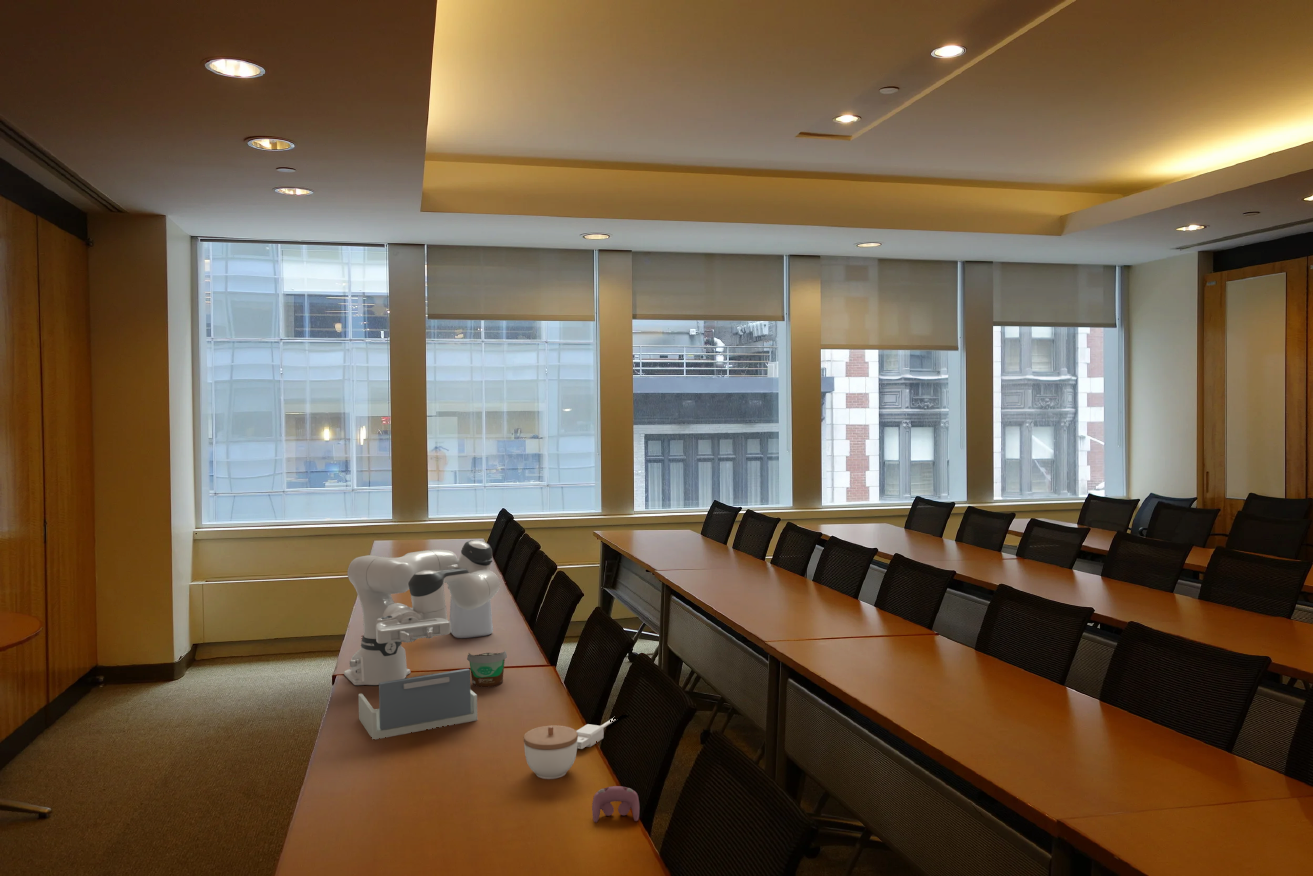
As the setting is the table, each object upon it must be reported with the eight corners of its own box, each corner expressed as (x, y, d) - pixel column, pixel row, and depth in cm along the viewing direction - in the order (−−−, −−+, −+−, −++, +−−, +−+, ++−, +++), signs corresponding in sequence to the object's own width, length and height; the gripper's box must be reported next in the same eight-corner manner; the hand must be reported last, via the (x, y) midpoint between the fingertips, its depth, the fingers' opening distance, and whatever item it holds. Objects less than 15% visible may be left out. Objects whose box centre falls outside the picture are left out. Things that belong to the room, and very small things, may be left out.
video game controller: (639, 821, 186) (638, 786, 189) (639, 821, 182) (639, 784, 185) (592, 823, 186) (592, 787, 189) (591, 822, 182) (591, 786, 184)
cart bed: (358, 719, 245) (358, 694, 245) (457, 701, 259) (457, 678, 259) (372, 739, 230) (372, 713, 229) (477, 720, 243) (477, 695, 243)
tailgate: (379, 728, 231) (378, 682, 231) (469, 711, 243) (468, 668, 243) (381, 730, 229) (380, 685, 229) (471, 714, 241) (470, 670, 241)
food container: (468, 690, 269) (468, 658, 269) (467, 684, 275) (466, 652, 275) (509, 686, 273) (508, 654, 272) (507, 680, 279) (506, 649, 278)
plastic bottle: (447, 631, 343) (445, 559, 342) (485, 626, 349) (484, 556, 348) (455, 640, 329) (454, 565, 328) (495, 635, 335) (494, 562, 334)
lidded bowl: (528, 787, 200) (527, 739, 199) (520, 766, 212) (520, 720, 212) (583, 780, 203) (582, 732, 203) (572, 759, 215) (572, 714, 215)
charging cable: (638, 716, 249) (638, 704, 249) (583, 752, 219) (583, 739, 219) (621, 713, 251) (621, 702, 251) (565, 749, 221) (565, 736, 221)
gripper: (443, 632, 257) (457, 642, 245) (371, 641, 247) (382, 653, 235) (443, 610, 257) (457, 620, 245) (370, 619, 247) (382, 630, 235)
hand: (420, 636), depth 240 cm, fingers open, 4 cm apart
